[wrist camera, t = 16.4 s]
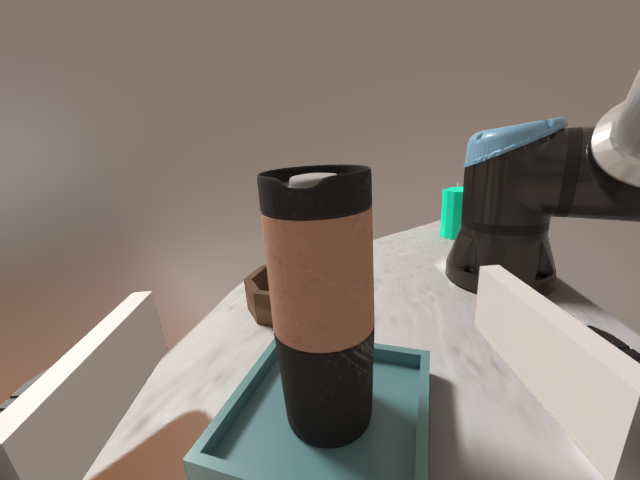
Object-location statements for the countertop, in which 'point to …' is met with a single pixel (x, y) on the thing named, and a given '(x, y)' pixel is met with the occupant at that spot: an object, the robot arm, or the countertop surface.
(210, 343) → the countertop surface
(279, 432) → the slate tray
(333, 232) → the travel mug
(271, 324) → the walnut collar
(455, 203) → the candle
